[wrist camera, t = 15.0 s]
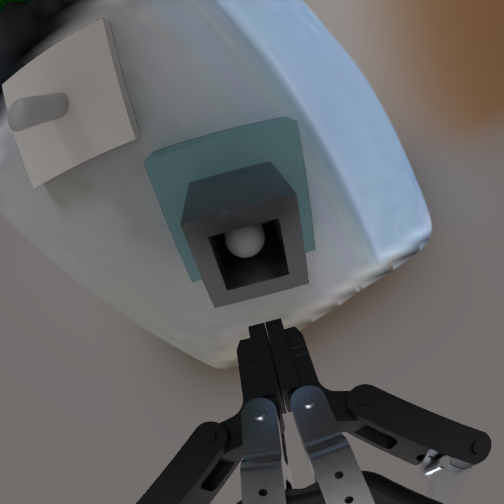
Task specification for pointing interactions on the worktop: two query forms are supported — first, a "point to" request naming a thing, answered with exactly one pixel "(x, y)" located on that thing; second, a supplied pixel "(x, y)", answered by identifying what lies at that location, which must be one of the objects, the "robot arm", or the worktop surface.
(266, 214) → the metal collar
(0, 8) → the clamp
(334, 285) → the worktop surface
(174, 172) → the block
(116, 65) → the rod stand
